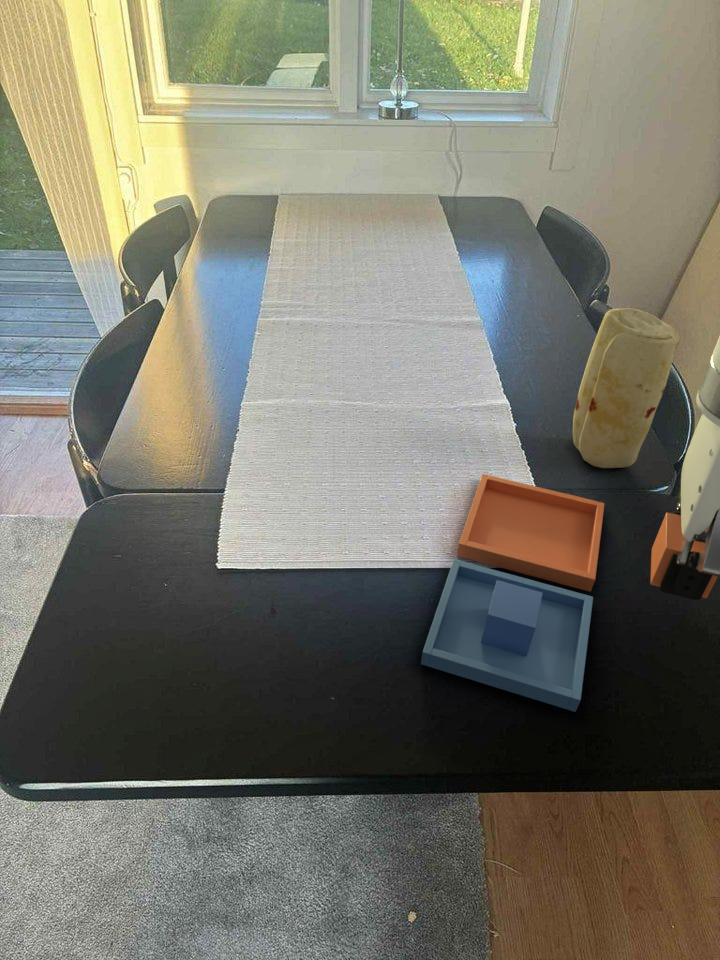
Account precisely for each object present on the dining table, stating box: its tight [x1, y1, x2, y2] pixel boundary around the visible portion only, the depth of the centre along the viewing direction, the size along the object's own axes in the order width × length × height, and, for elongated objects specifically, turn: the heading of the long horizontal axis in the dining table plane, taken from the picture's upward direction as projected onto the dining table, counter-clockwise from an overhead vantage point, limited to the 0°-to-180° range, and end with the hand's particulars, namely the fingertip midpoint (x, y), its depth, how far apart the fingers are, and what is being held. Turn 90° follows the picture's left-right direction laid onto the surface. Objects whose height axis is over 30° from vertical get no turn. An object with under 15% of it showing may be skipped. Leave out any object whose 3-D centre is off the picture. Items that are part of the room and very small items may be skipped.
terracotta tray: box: [456, 473, 605, 593], centre depth 80 cm, size 15×13×2 cm
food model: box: [572, 308, 681, 469], centre depth 85 cm, size 10×7×20 cm
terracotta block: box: [650, 512, 719, 599], centre depth 59 cm, size 4×4×4 cm
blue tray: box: [420, 558, 594, 713], centre depth 69 cm, size 15×13×2 cm
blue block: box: [481, 580, 543, 656], centre depth 68 cm, size 4×4×4 cm
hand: (679, 569), depth 60 cm, fingers closed on terracotta block, 4 cm apart
